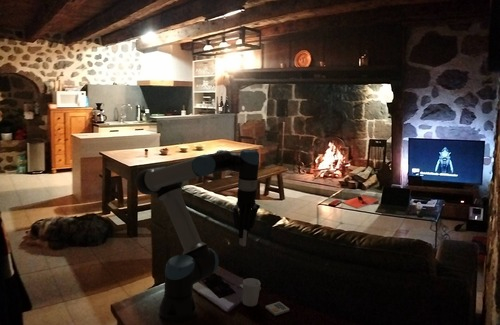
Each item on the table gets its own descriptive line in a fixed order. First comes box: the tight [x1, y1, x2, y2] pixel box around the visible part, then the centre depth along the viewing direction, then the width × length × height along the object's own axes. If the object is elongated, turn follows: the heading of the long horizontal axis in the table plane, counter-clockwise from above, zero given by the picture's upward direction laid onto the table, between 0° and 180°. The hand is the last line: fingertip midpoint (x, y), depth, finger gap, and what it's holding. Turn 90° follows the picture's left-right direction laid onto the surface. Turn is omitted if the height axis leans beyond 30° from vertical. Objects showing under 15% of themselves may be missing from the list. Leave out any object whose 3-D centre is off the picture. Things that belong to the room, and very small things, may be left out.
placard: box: [265, 301, 291, 316], centre depth 178 cm, size 7×8×1 cm
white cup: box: [242, 277, 261, 307], centre depth 181 cm, size 8×8×10 cm
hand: (242, 244), depth 163 cm, fingers closed
